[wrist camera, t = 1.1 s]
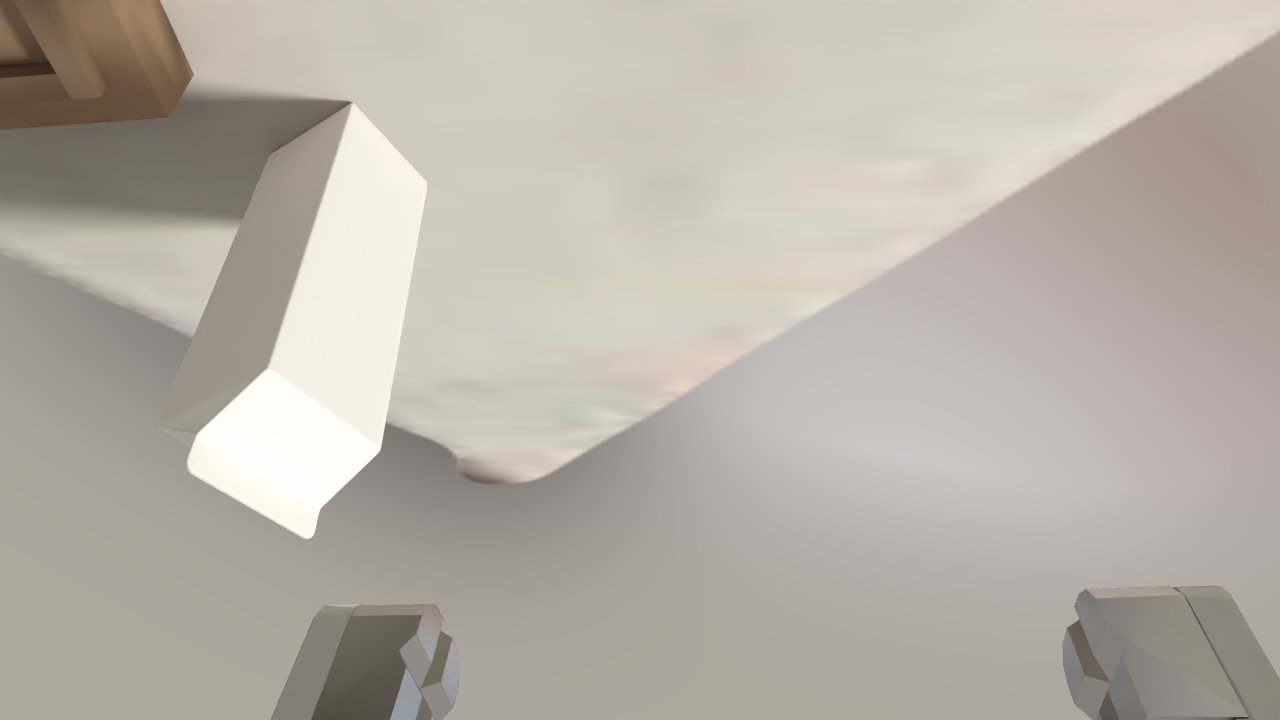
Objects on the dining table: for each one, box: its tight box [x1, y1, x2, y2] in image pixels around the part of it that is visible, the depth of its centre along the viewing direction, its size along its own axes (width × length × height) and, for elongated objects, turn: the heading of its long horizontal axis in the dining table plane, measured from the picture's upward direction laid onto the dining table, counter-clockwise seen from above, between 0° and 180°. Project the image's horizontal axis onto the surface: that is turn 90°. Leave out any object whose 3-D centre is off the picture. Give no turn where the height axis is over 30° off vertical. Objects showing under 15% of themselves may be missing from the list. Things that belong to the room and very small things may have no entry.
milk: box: [157, 103, 427, 539], centre depth 38 cm, size 6×6×22 cm
